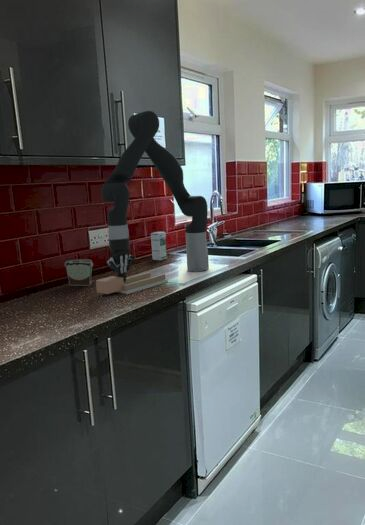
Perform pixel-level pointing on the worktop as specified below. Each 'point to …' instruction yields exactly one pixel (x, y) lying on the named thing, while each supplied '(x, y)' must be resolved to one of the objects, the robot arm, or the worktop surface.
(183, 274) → the worktop surface
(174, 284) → the worktop surface
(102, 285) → the block
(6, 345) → the worktop surface
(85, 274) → the food container
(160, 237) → the white pill bottle
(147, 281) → the chute
